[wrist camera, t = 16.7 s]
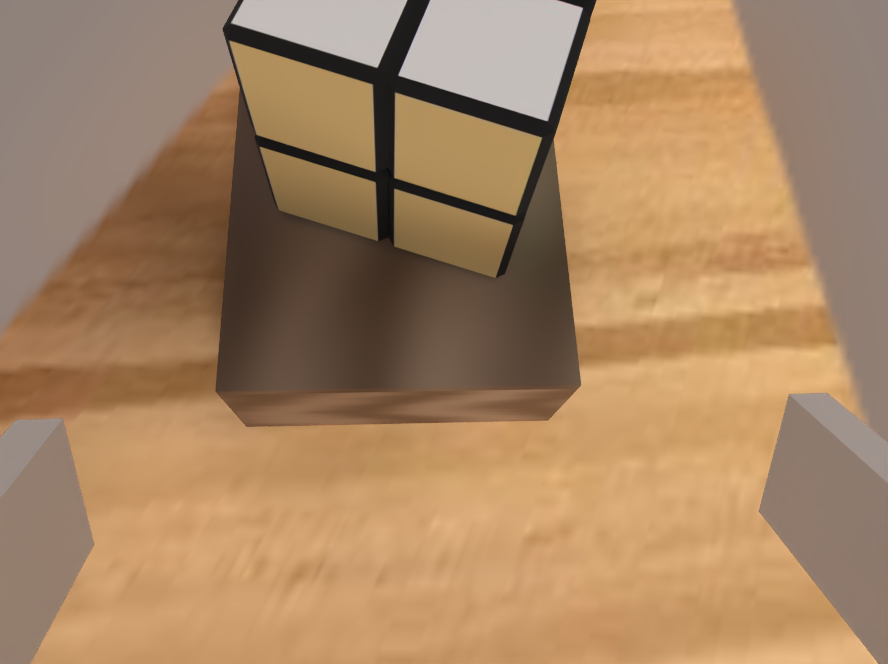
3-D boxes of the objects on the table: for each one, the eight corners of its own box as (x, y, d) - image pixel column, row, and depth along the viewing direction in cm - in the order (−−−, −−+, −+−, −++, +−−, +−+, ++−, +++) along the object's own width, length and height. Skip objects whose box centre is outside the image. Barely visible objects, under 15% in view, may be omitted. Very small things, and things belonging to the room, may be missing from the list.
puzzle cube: (353, 35, 32) (339, -191, 23) (559, 97, 32) (630, -107, 22) (271, 212, 28) (214, 29, 19) (501, 284, 28) (557, 133, 19)
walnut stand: (246, 426, 31) (215, 391, 26) (263, 165, 36) (239, 88, 31) (547, 420, 32) (581, 385, 27) (524, 168, 37) (548, 94, 32)
